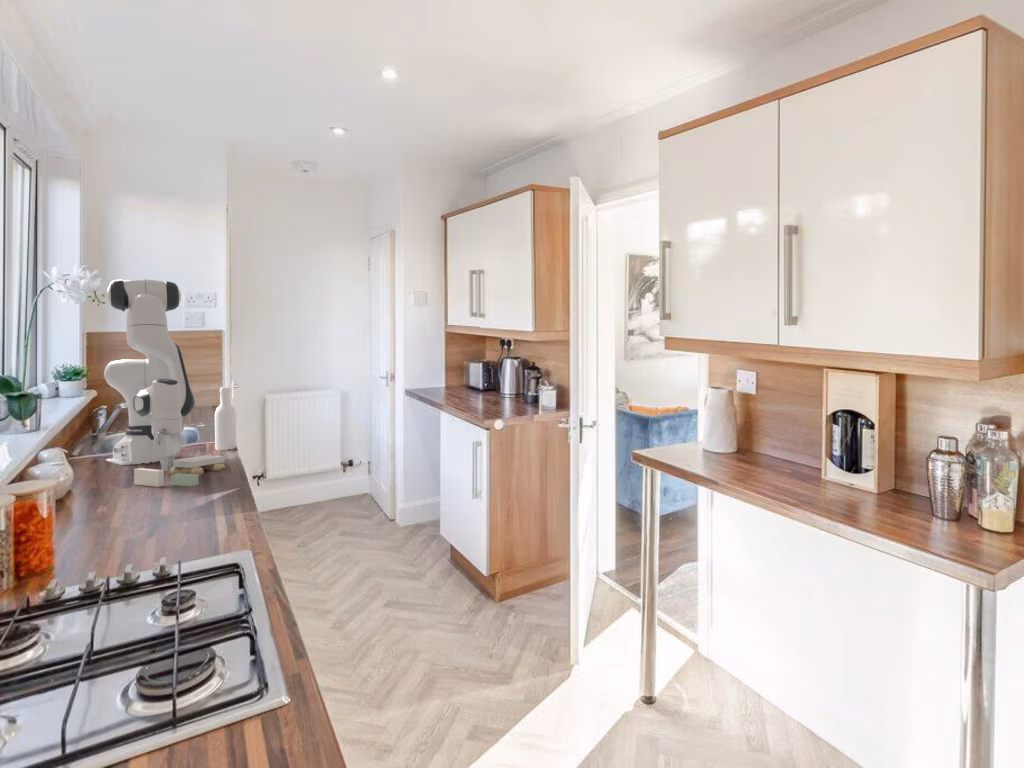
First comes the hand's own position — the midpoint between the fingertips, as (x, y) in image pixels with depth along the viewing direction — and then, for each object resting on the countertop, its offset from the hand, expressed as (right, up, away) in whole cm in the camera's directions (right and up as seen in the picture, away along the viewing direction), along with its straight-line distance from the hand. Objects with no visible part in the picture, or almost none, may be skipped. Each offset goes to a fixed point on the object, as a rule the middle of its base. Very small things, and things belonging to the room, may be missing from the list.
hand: (167, 469), depth 195 cm
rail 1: (+2, -4, +7) cm, 8 cm away
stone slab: (+4, 0, +11) cm, 12 cm away
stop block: (-3, -4, -6) cm, 8 cm away
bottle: (-3, -3, +45) cm, 45 cm away
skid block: (+9, -5, -5) cm, 11 cm away
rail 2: (+6, -4, +15) cm, 16 cm away
